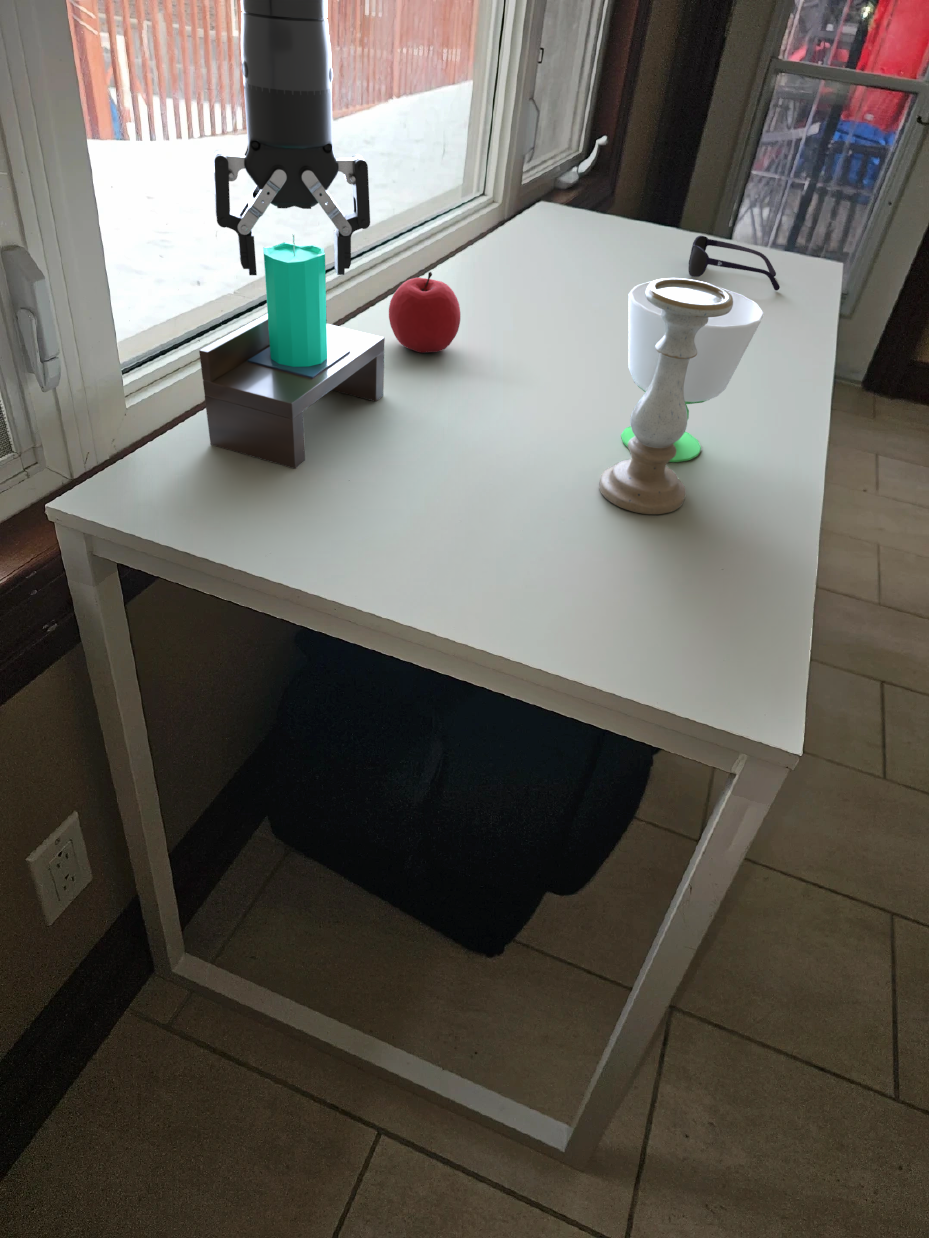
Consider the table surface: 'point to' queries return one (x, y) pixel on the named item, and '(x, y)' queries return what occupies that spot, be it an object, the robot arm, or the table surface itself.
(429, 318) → the apple
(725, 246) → the sunglasses
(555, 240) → the table surface
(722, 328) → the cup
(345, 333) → the shelf
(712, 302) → the candle holder
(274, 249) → the candle
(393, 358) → the table surface
